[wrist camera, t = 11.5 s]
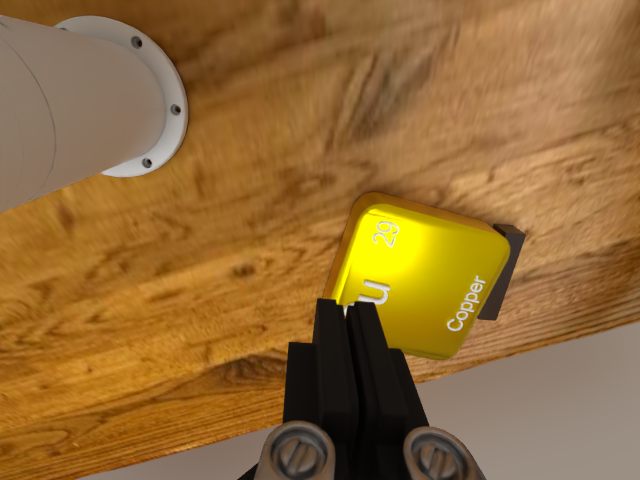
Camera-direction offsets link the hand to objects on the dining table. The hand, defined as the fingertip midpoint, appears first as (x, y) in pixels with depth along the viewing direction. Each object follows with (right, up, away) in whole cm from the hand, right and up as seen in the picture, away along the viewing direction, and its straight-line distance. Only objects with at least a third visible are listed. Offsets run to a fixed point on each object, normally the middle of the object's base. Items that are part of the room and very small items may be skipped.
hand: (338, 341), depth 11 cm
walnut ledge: (+18, 0, +28) cm, 33 cm away
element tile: (+8, 0, +28) cm, 29 cm away
